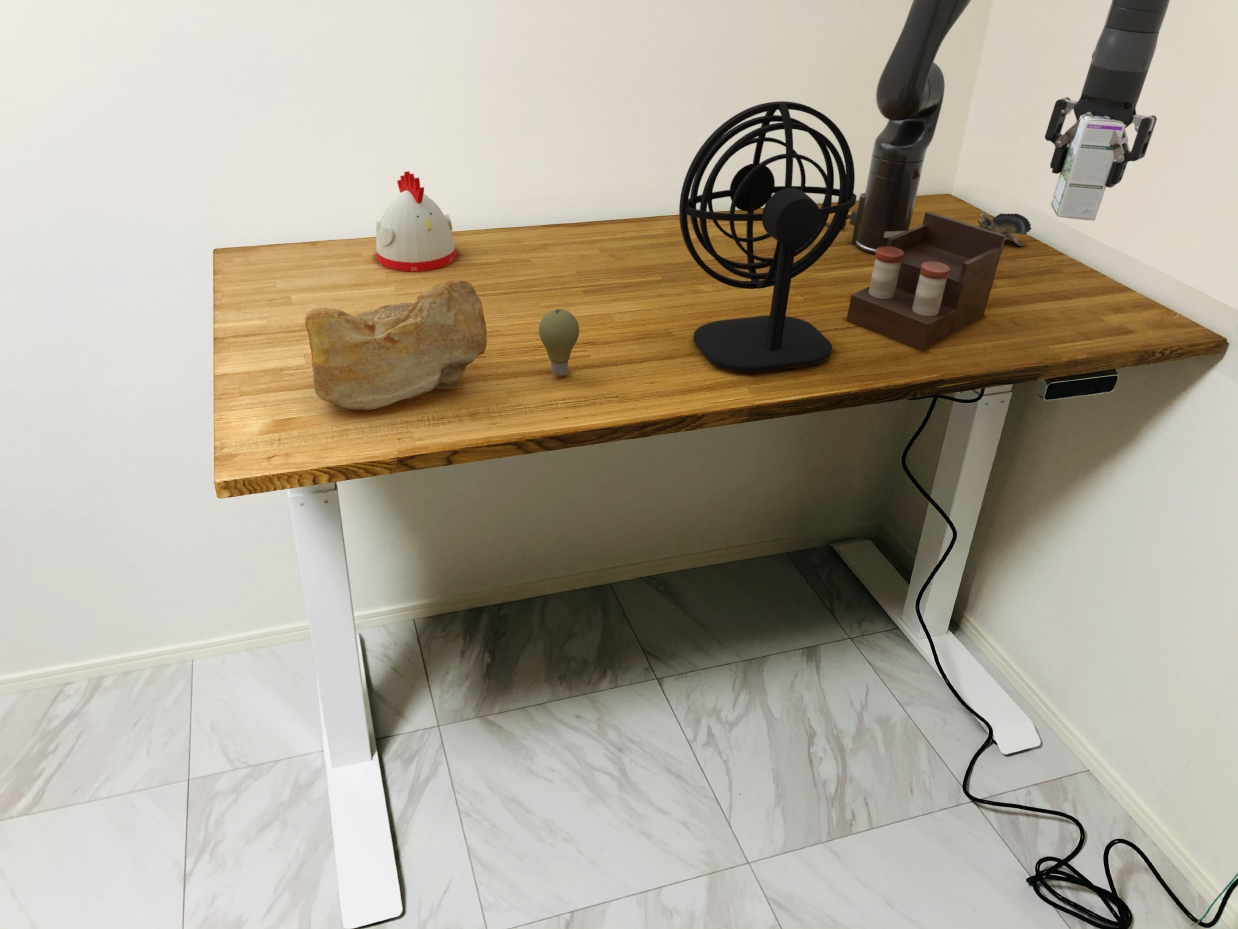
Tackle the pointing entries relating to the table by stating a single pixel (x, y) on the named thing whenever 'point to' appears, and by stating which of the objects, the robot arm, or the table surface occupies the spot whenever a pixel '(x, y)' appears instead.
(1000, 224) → the squirrel figurine
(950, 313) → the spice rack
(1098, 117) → the syrup box
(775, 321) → the desk fan
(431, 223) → the kitchen timer
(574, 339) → the light bulb
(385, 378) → the rough brown rock
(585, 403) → the table surface
